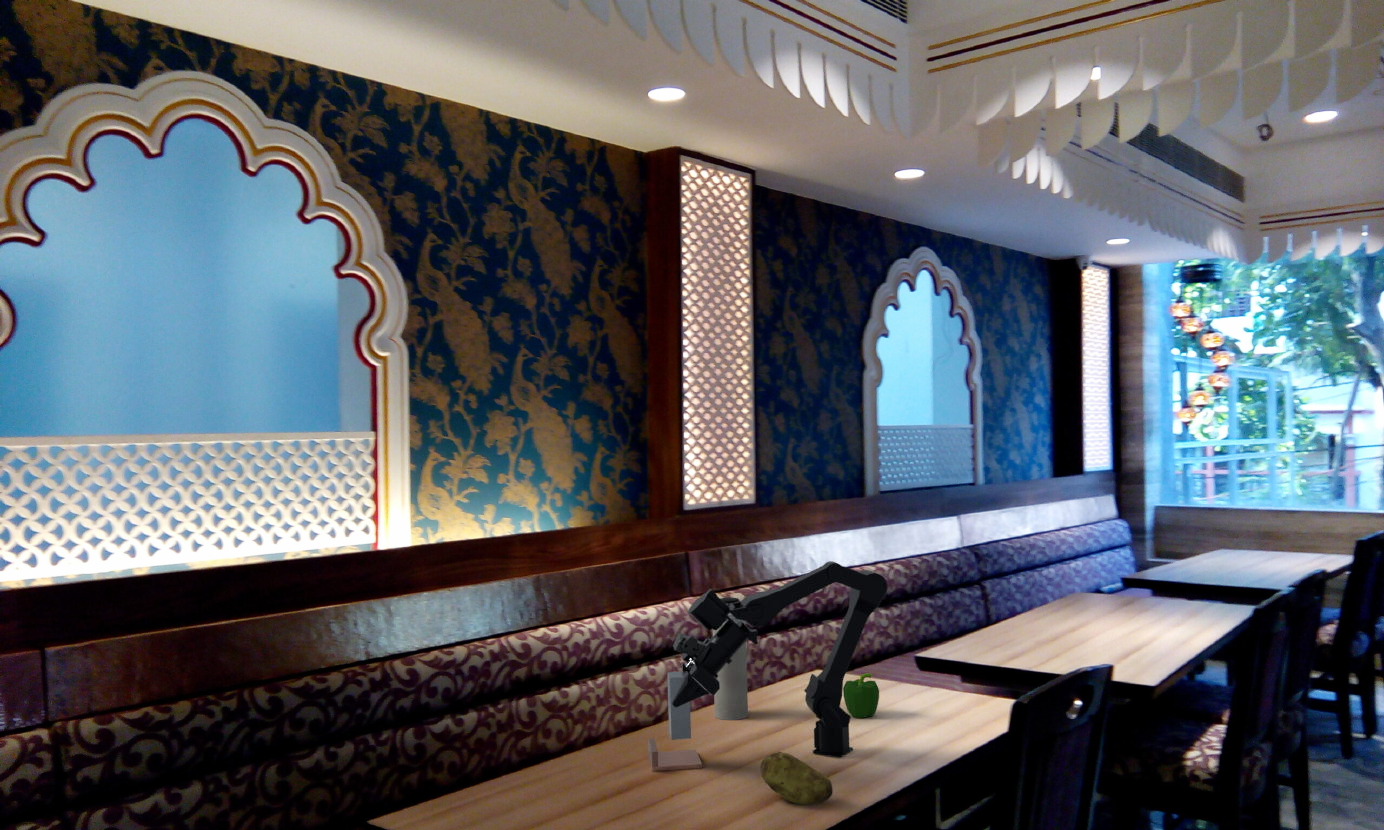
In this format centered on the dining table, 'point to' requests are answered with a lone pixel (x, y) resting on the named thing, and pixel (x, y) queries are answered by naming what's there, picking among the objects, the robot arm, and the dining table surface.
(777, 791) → the potato
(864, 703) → the bell pepper
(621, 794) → the dining table surface
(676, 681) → the block
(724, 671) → the thermos bottle
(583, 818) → the dining table surface
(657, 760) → the plate
